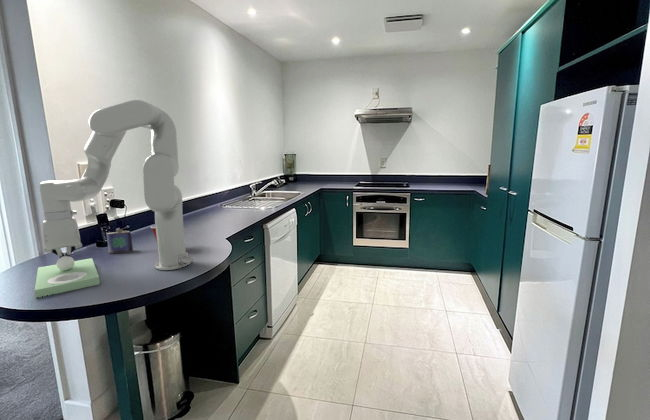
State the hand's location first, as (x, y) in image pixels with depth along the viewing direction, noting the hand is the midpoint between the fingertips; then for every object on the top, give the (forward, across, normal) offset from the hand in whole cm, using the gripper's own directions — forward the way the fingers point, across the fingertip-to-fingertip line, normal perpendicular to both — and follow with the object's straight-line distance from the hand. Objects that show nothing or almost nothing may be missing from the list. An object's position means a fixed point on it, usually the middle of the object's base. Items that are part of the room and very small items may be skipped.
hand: (66, 265), depth 117 cm
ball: (-2, 0, +4) cm, 5 cm away
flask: (+3, -19, -18) cm, 27 cm away
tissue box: (+3, 0, +7) cm, 7 cm away
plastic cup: (+3, -35, -7) cm, 36 cm away
